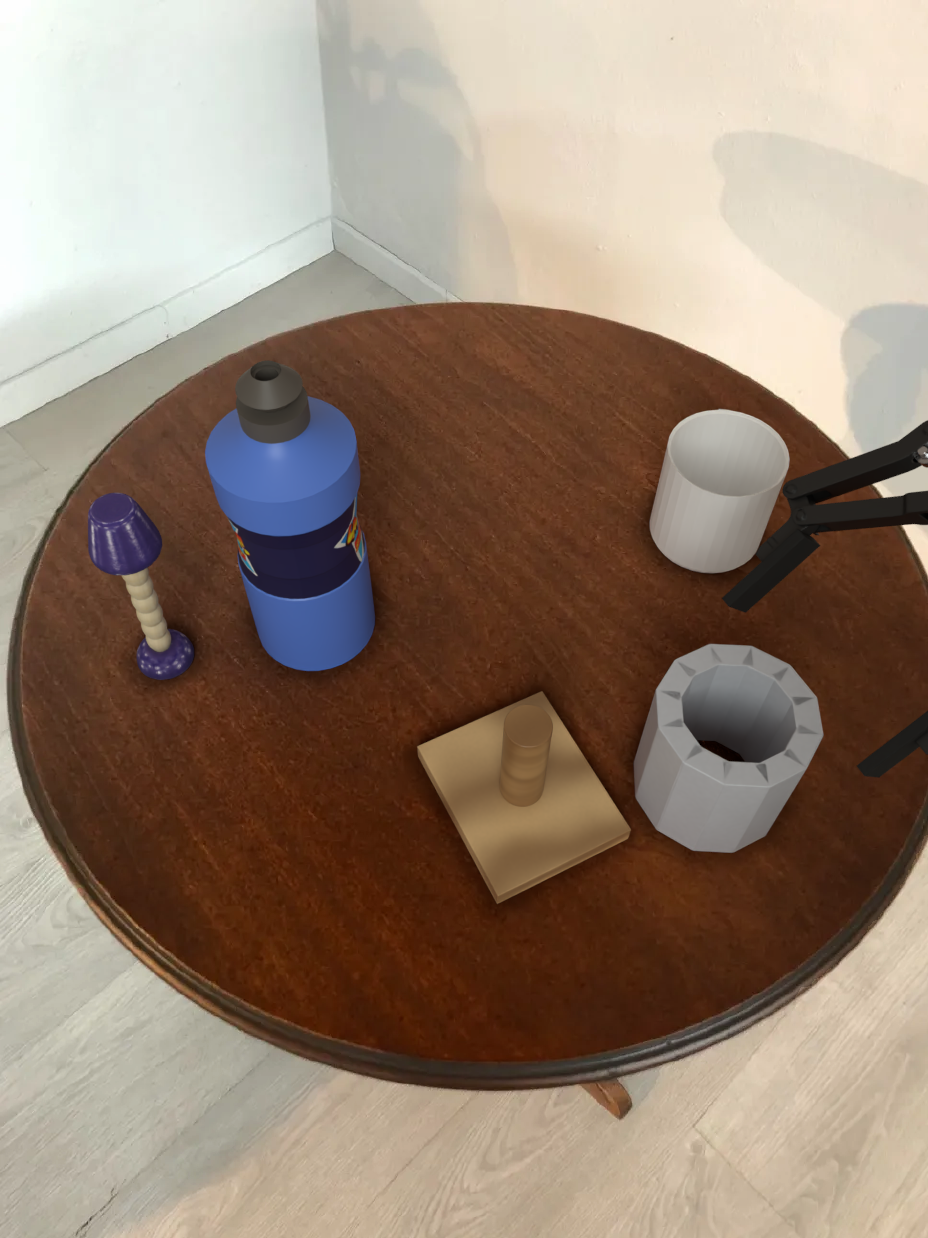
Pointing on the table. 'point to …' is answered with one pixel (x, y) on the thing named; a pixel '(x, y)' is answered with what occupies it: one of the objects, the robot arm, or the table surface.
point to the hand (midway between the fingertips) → (796, 684)
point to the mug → (717, 490)
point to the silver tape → (740, 720)
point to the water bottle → (294, 518)
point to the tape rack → (522, 795)
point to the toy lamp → (137, 579)
